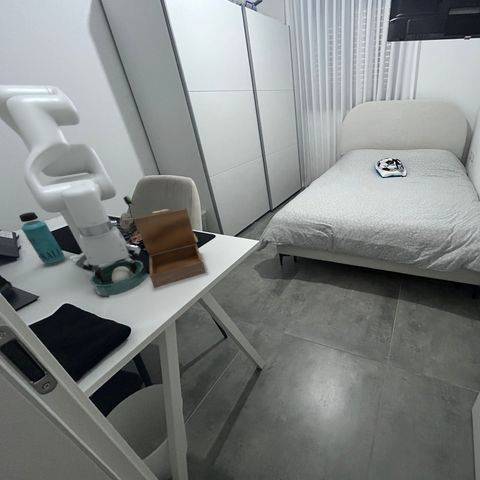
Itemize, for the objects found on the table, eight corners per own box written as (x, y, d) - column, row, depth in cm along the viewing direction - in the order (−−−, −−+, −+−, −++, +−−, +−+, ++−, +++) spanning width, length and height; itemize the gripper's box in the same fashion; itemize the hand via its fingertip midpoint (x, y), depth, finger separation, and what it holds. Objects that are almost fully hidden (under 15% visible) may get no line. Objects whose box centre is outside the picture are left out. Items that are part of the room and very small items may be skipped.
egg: (130, 286, 85) (128, 273, 83) (111, 288, 82) (109, 275, 80) (131, 274, 90) (129, 263, 88) (113, 276, 87) (111, 264, 85)
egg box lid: (186, 209, 88) (184, 201, 91) (132, 219, 81) (132, 211, 84) (196, 243, 98) (193, 235, 101) (149, 254, 91) (147, 246, 94)
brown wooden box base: (206, 274, 90) (202, 261, 87) (155, 289, 83) (149, 276, 80) (199, 255, 101) (196, 243, 98) (154, 267, 94) (149, 255, 91)
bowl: (93, 303, 78) (86, 291, 76) (99, 278, 89) (94, 268, 86) (147, 287, 84) (142, 276, 82) (147, 266, 95) (143, 255, 93)
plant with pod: (139, 233, 118) (123, 191, 109) (152, 239, 113) (135, 195, 103) (120, 240, 112) (100, 196, 103) (132, 247, 107) (112, 202, 97)
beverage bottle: (53, 258, 101) (24, 210, 91) (71, 257, 101) (44, 209, 91) (39, 267, 95) (6, 218, 85) (58, 266, 95) (27, 217, 86)
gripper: (131, 217, 83) (149, 262, 92) (61, 230, 75) (88, 278, 84) (130, 225, 77) (150, 273, 86) (54, 241, 70) (84, 291, 78)
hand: (119, 275), depth 85 cm, fingers open, 8 cm apart
